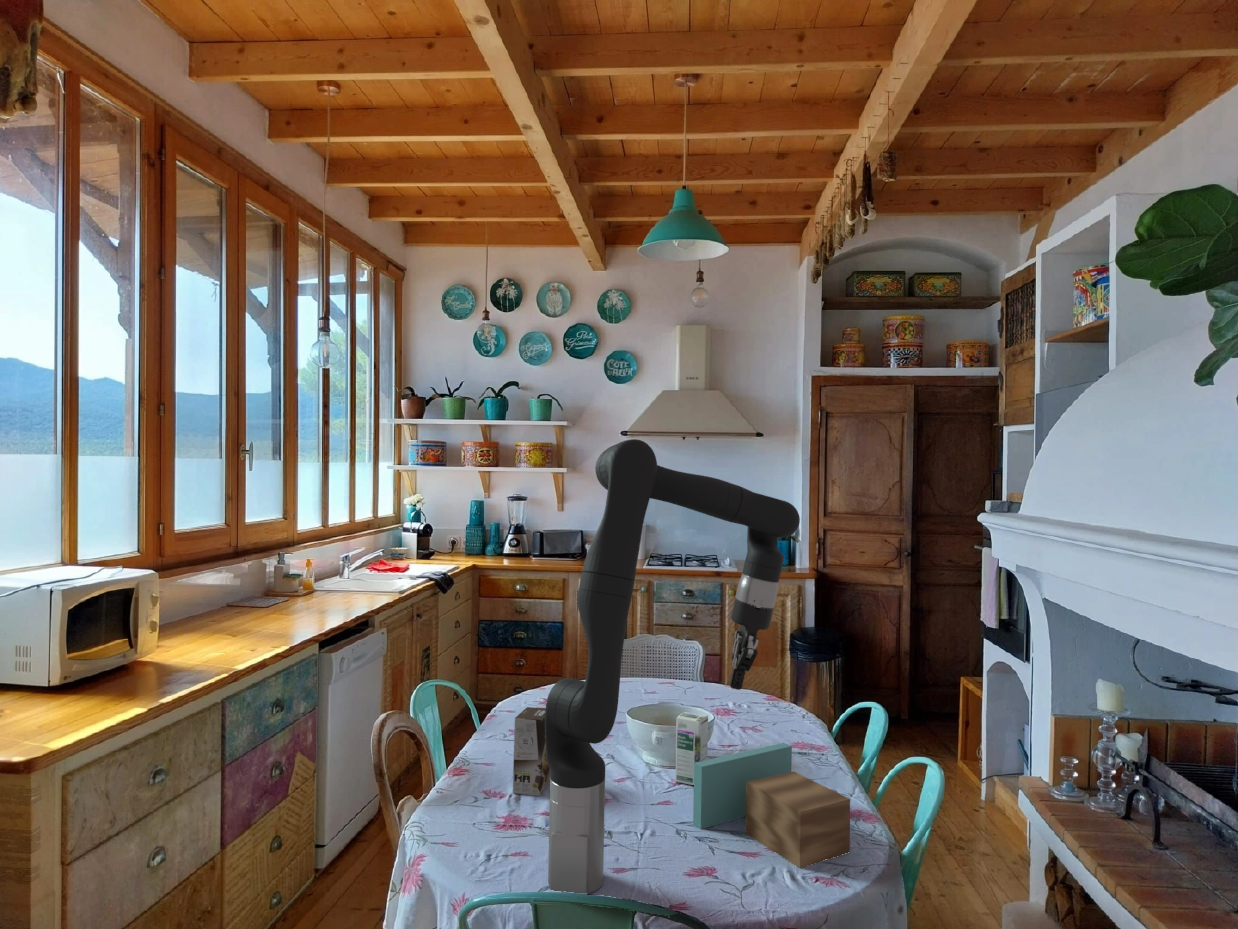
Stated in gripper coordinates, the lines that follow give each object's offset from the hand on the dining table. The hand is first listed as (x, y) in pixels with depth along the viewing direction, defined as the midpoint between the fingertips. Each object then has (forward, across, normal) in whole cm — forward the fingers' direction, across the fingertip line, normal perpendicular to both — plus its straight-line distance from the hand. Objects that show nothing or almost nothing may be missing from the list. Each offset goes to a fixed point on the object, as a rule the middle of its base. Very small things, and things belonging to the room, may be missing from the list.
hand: (735, 687), depth 149 cm
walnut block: (+25, +5, +17) cm, 30 cm away
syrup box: (+30, -24, 0) cm, 39 cm away
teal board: (+27, -7, +9) cm, 29 cm away
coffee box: (+36, -19, -34) cm, 53 cm away
